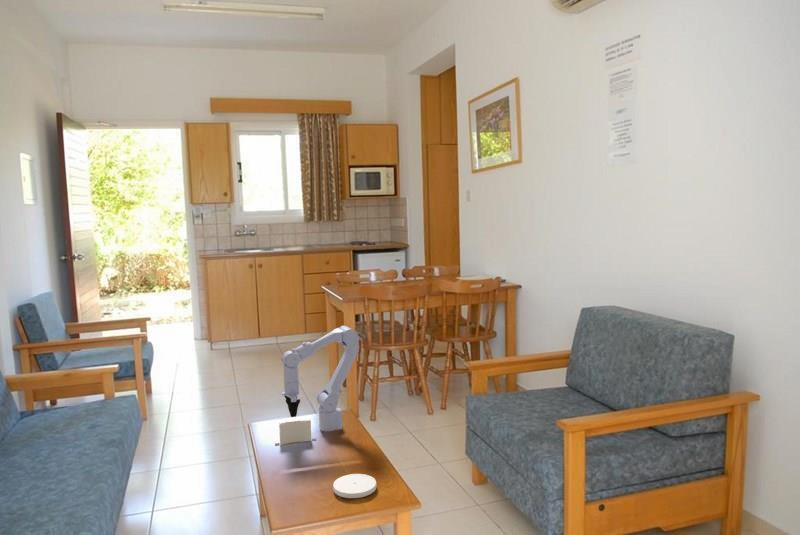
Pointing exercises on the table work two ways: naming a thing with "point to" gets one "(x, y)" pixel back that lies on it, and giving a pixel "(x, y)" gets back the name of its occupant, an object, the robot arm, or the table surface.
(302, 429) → the flap
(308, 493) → the table surface
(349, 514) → the table surface
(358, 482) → the plastic lid
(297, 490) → the table surface
